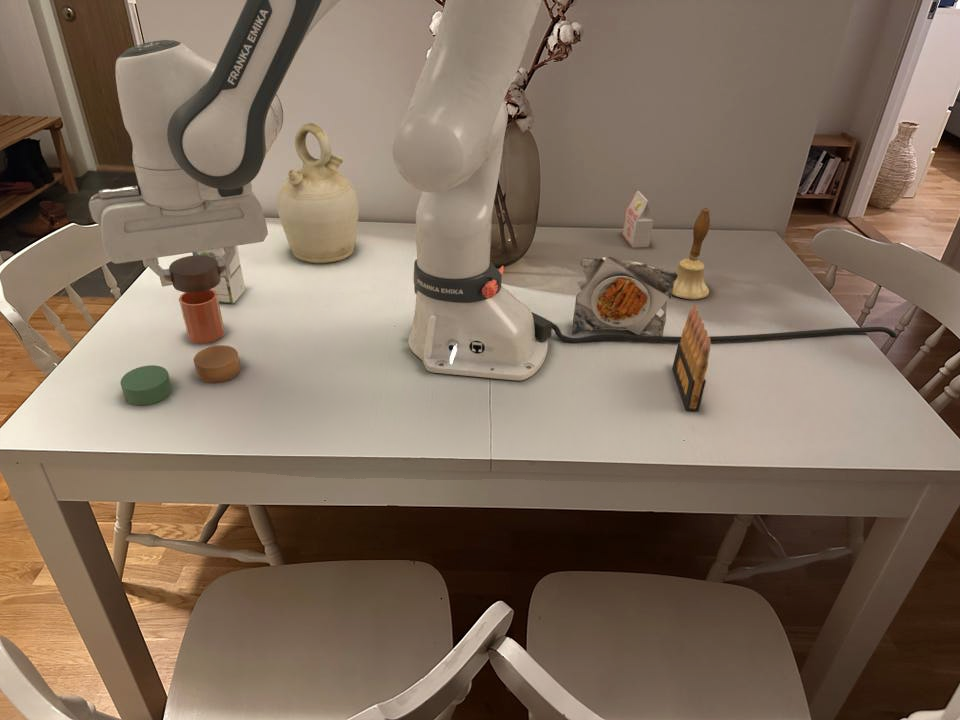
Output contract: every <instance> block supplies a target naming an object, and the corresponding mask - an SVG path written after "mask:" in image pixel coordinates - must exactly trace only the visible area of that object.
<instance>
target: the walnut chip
mask: <svg viewBox="0 0 960 720" xmlns="http://www.w3.org/2000/svg"><path fill="white" fill-rule="evenodd" d="M168 269H169V270H170V273H171V276H172V281H173V285H172V286H173V288H174V289H175V290H176V291H178V292H181V293H182V292H183V293H185V292H187V293H196V292H203V291H207V290H210V289H212V288H214V287H216V286H217V285H218V284H219V283H220V281H221V277H220V273H219V268H218V262H217V260H216V259H215V258H213V257H210V256H205V255H193V254H192V255H187V256H183V257H180V258H178V259H175V260H174V261H172V262H171V263H170V265H169V267H168Z"/></svg>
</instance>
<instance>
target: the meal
mask: <svg viewBox="0 0 960 720" xmlns="http://www.w3.org/2000/svg"><path fill="white" fill-rule="evenodd" d="M580 266H581V267H582V272H583V273H584V276H585V279H583V280H580V281H578V282H577V283H578V286H579V289H580V291H579V292H578V293H577V294H576V295H575V304H574V311H573V318H572V319H573V320H572V327H571V334H572V335H574V334H576V333H578V331H579V332H580V331H586V330H590V331H591V332H596V331H599V330H601V329H605V330H607V329H608V330H610V329H611V330H617V331H618V330H619V331H620V330H621V331H627V330H628V331H630V332H632V333H634V334H635V335H638V336H644V334H645V333H646V332H647V333H649V334H650V336H664V330H665V325H666V322H667V305H668V300H669V299H672V296H673V295H672V293H673V288H674V281H675V280H676V279H677V277H678V274H677V273H676V271H675V272H669V271H666V270H665V269H663V268H656V267H655V266H651V265H648V264H647V263H646V262H639V261H632V260H624V259H619V258H616V257H613V256H603V257H601V258H589V257H583V258H581V259H580ZM660 310H662V311H663V313H662V314H661V315H660V316H659V315H658V314H657V313H658V312H659V311H660Z"/></svg>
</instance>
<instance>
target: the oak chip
mask: <svg viewBox="0 0 960 720" xmlns="http://www.w3.org/2000/svg"><path fill="white" fill-rule="evenodd" d="M193 363H194V364H193V365H194V368H195V372H196V376H197V378H198V379H199V380H200V381H202V382H204V383H208V384H209V383H211V384H217V383H223V382H227V381H229V380H232V379H234V378H235V377H236V376H238V375H239V373H240V371H241V362H240V357H239V352H238V350H237V349H236V348H234V347H233V346H230V345H223V344H221V345H212V346H208V347H205V348H203V349H201V350H199V351H198V352H197V353H196V354H195V355H194V357H193Z"/></svg>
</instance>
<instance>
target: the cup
mask: <svg viewBox="0 0 960 720" xmlns="http://www.w3.org/2000/svg"><path fill="white" fill-rule="evenodd" d="M178 301H179V305H180V310H181V314H182V318H183V322H184V326H185V330H186V334H187V337H188V339H189V341H190V342H192V343H195V344H201V345H202V344H203V345H204V344H210V343H213V342H216V341H218V340H220V339H222V337H223V336H224V335H225V326H224V321H223V316H222V310H221V307H220V302H219V301H218V296H217V293H216V292H215V291H214V290H211V289H210V290H207V291H203V292H196V293H187V292H183V293H182V294H180V295H179V298H178Z"/></svg>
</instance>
